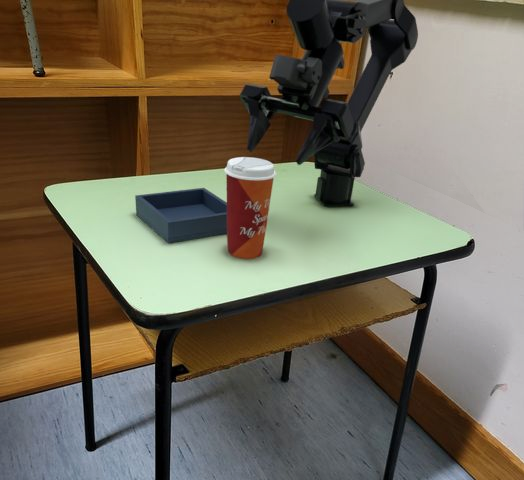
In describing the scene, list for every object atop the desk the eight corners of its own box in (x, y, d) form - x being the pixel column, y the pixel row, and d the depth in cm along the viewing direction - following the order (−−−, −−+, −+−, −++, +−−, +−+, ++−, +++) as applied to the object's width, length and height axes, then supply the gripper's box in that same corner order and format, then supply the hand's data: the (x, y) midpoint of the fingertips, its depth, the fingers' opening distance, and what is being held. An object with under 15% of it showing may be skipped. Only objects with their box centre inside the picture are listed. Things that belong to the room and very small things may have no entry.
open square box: (203, 205, 102) (204, 187, 100) (240, 231, 93) (241, 211, 91) (136, 214, 95) (135, 195, 93) (168, 243, 86) (167, 222, 84)
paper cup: (251, 266, 82) (258, 174, 74) (211, 252, 85) (214, 162, 77) (277, 250, 87) (287, 163, 80) (239, 238, 90) (244, 152, 83)
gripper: (248, 25, 82) (203, 113, 81) (358, 40, 74) (310, 138, 73) (272, 77, 92) (232, 155, 91) (371, 95, 84) (329, 181, 83)
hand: (272, 156), depth 84 cm, fingers open, 9 cm apart
